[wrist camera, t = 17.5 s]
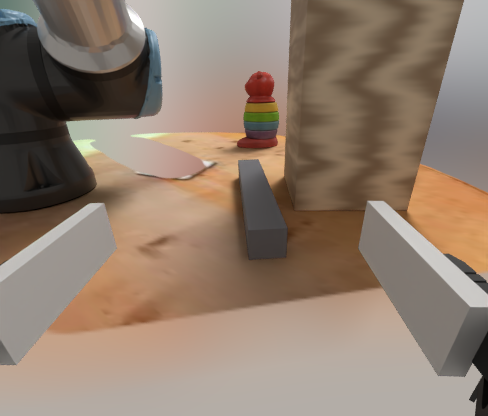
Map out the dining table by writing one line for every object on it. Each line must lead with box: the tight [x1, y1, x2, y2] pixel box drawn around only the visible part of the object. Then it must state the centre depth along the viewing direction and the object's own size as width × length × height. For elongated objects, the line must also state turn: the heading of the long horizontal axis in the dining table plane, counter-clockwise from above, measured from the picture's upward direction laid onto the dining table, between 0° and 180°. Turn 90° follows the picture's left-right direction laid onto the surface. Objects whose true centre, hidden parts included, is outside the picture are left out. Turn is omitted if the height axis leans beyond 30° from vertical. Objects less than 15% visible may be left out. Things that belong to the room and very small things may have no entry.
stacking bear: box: [237, 71, 279, 148], centre depth 67 cm, size 11×10×18 cm
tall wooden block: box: [284, 0, 464, 211], centre depth 32 cm, size 14×14×34 cm
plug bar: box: [238, 159, 288, 260], centre depth 34 cm, size 4×24×4 cm, turn 3°
